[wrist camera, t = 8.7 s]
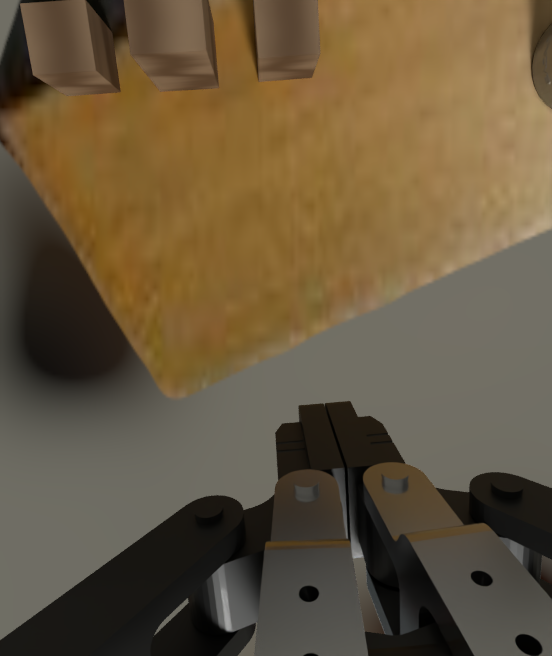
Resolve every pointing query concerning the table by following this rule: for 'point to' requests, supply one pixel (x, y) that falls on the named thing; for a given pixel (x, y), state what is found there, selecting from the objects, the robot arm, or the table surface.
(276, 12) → the block one
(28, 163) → the table surface
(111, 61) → the block seven
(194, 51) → the plain pillar
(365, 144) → the table surface
